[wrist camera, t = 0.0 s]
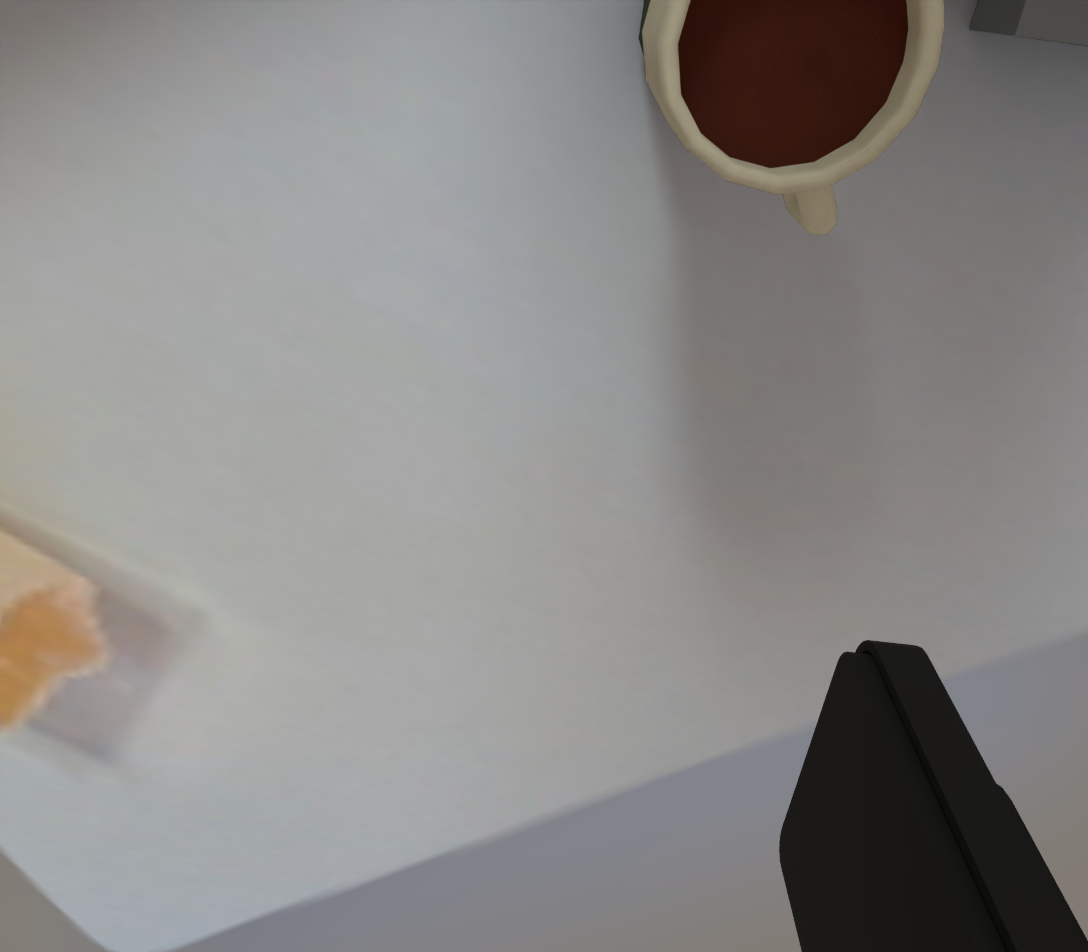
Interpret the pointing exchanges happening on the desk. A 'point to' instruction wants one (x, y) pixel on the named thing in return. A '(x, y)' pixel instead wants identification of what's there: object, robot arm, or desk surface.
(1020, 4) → the console
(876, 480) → the desk surface
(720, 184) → the desk surface
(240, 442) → the desk surface
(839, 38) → the character mug
